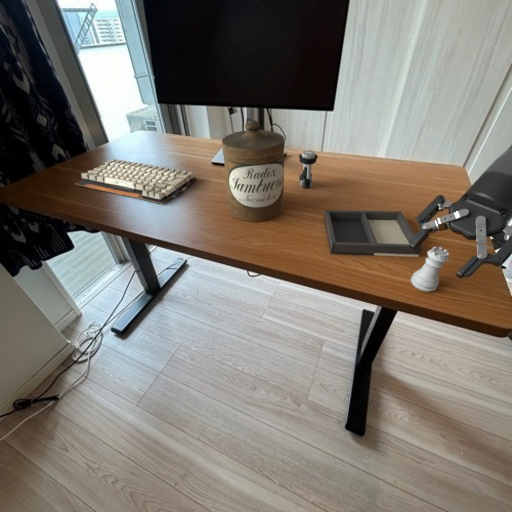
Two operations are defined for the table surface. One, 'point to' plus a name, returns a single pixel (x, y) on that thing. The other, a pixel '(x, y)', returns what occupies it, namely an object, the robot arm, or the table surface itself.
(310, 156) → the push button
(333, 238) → the sorting tray
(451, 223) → the robot arm
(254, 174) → the wooden container
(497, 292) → the table surface
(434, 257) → the rook chess piece
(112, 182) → the mechanical keyboard
